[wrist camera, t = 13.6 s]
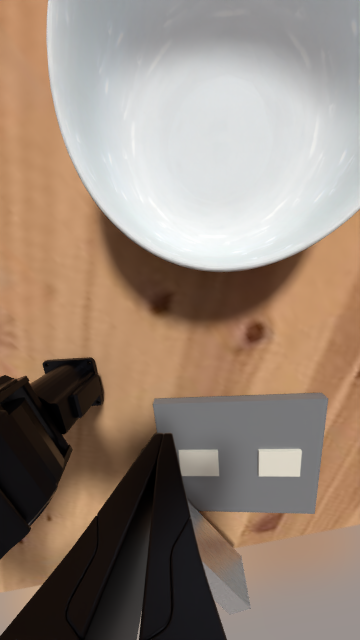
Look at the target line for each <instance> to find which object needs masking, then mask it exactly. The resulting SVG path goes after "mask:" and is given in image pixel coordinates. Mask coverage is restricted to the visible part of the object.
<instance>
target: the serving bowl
mask: <svg viewBox="0 0 360 640" xmlns="http://www.w3.org/2000/svg"><path fill="white" fill-rule="evenodd" d="M47 54H48V70H49V78H50V86H51V92H52V97H53V102H54V107H55V112H56V116H57V120H58V123H59V127H60V131H61V133H62V136H63V139H64V142H65V145H66V148H67V151H68V153H69V155H70V158H71V160H72V162H73V165H74V167H75V169H76V171H77V173H78V175H79V177H80V179H81V181H82V182H83V184H84V186H85V188H86V189H87V191H88V192H89V194H90V196H91V197H92V199H93V200H94V201H95V203H96V204H97V206H98V207H99V208H100V209H101V211H102V212H103V213H104V214H105V215H106V216H107V218H108V219H109V220H110V221H111V222H112V223H113V224H114V225H115V226H116V227H117V228H118V229H119V230H120V231H121V232H122V233H123V234H125V235H126V236H127V237H128V238H129V239H131V240H132V241H133V242H134V243H136V244H137V245H139V246H140V247H142V248H143V249H145V250H146V251H148V252H150V253H152V254H153V255H155V256H157V257H159V258H161V259H163V260H166V261H168V262H171V263H173V264H176V265H179V266H182V267H186V268H190V269H195V270H201V271H210V272H233V271H243V270H249V269H254V268H258V267H262V266H266V265H269V264H272V263H276V262H278V261H281V260H283V259H286V258H288V257H291V256H293V255H295V254H297V253H299V252H301V251H303V250H305V249H307V248H308V247H310V246H312V245H314V244H315V243H317V242H319V241H320V240H322V239H323V238H325V237H326V236H327V235H329V234H330V233H332V232H333V231H334V230H336V229H337V228H338V227H340V226H341V225H342V224H343V223H345V222H346V221H347V220H348V219H350V218H351V217H352V216H353V215H354V214H355V213H356V212H357V211H358V210H359V209H360V0H48V11H47Z"/></svg>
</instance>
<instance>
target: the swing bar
mask: <svg viewBox="0 0 360 640" xmlns="http://www.w3.org/2000/svg"><path fill="white" fill-rule="evenodd" d="M132 465H133V464H132ZM187 501H188V500H187ZM188 506H189V510H190V515H191V519H192V523H193V528H194V532H195V536H196V540H197V544H198V548H199V552H200V556H201V559H202V563H203V566H204V569H205V573H206V576H207V579H208V583H209V586H210V589H211V592H212V595H213V598H214V600H215V601H216V602H217V603H218V604H219V605H220V606H221V607H222V608H223V609H224V610H225V611H226V612H228V613H229V614H234V613H237V612H241V611H244V610H247V609H250V602H249V596H248V591H247V585H246V580H245V575H244V569H243V563H242V557H241V556H240V554H239V553H237V551H236V550H235V549H234V548H233V547H232V546H231V545H230V544H229V543H228V542H227V541H226V540H225V539H224V538H223V537H222V536H221V535H220V534H219V533H218V532H217V530H216V529H215V528H214V527H213V526H212V525H211V524H210V523H209V522H208V521H207V520H206V519H205V518H204V517H203V516H202V515H201V514H200V513H199V512H198V511H197V510H196V509H195V508H194V507H193V505H192V504H191V503H190V502H189V501H188Z"/></svg>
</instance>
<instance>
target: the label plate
mask: <svg viewBox="0 0 360 640" xmlns="http://www.w3.org/2000/svg"><path fill="white" fill-rule="evenodd" d="M327 404H328V398H327V397H326V396H325V395H323V394H322V393H301V394H273V395H245V396H216V397H188V398H159V399H154V402H153V408H154V415H155V421H156V428H157V433H163V434H164V433H172V434H173V438H174V443H175V447H176V452H177V456H178V461H179V465H180V470H181V474H182V479H183V483H184V488H185V492H186V497H187V500H188V501H189V502H190V503H191V504H192V505H193V507H194V508H195V509H196V510H197V511H223V512H265V513H308V514H315V506H316V497H317V489H318V480H319V472H320V464H321V455H322V447H323V438H324V430H325V421H326V413H327ZM142 451H143V449H142V450H141V452H142ZM140 454H141V453H140Z"/></svg>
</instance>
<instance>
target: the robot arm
mask: <svg viewBox="0 0 360 640" xmlns="http://www.w3.org/2000/svg"><path fill="white" fill-rule="evenodd" d="M89 361H90V362H91V363H89ZM43 368H44V371H45V375H43V376H42V377H40V378H39V379H37V380H36V381H34V382H33V383H31V384H30V383H29V382H28V381H29V379H28V378H27V376H24V377H21V378H18V379H14V378H11V377H9V376H6V375H4V376H1V377H0V559H1V558H2V557H3V556H4V555H5V554H6V553H7V552H8V551H9V550H10V549H11V548H12V547H14V546H15V545H16V544H17V543H18V542H19V541H21V540H22V539H23V538H24V537H25V536H26V535H27V534H28V533H29V531H30V529H31V527H30V525H32V524H33V522H34V521H35V520H36V519H37V518H38V517H39V516H40V514H41V513H42V512H43V511H44V509H45V508H46V507H47V505H48V503H49V502H50V500H51V499H52V497H53V495H54V493H55V492H56V489H57V487H58V483H59V481H60V478H61V476H62V474H63V471H64V469H65V466H66V464H67V462H68V459H69V457H70V455H71V452H72V450H73V449H72V447H71V446H70V445H68V443H67V442H66V440H65V439H64V437H63V436H62V434H66V433H67V432H68V430H69V429H70V428H71V427H72V425H73V424H74V423H75V422H76V421H77V419H78V418H81V417H82V416H83V415H84V414H85V413H86V411H87V410H88V409H89V408H90V406H98V405H101V404H102V402H103V397H102V390H101V386H100V381H99V377H98V374H97V370H96V366H95V361H94V359H93V358H73V359H56V360H46V361H45V362H43ZM141 611H142V615H141ZM140 617H141V625H140V626H141V627H140V635H139V640H227V639H226V635H225V632H224V629H223V626H222V623H221V620H220V617H219V614H218V611H217V607H216V604H215V601H214V598H213V595H212V592H211V589H210V586H209V583H208V579H207V576H206V573H205V569H204V566H203V563H202V559H201V556H200V552H199V548H198V544H197V540H196V536H195V532H194V528H193V523H192V519H191V515H190V510H189V506H188V501H187V497H186V492H185V488H184V483H183V479H182V474H181V470H180V465H179V461H178V456H177V452H176V447H175V443H174V438H173V434H172V433H164V434H163V433H155V434H154V435H153V437H152V438H151V440H150V441H149V442H148V444H147V445H146V447H145V448H144V449H143V451H142V452H141V454H140V455H139V456H138V458H137V459H136V461H135V462H134V463H133V465H132V466H131V468H130V469H129V470H128V472H127V473H126V475H125V476H124V477H123V479H122V480H121V481H120V483H119V484H118V486H117V487H116V488H115V490H114V491H113V493H112V494H111V495H110V497H109V498H108V500H107V501H106V502H105V504H104V505H103V507H102V508H101V509H100V511H99V512H98V514H97V516H95V518H94V519H93V520H92V522H91V523H90V525H89V526H88V527H87V529H86V530H85V531H84V533H83V534H82V535H81V537H80V538H79V539H78V541H77V542H76V543H75V545H74V546H73V547H72V549H71V550H70V551H69V553H68V554H67V555H66V556H65V558H64V559H63V560H62V561H61V563H60V564H59V565H58V566H57V568H56V569H55V570H54V571H53V573H52V574H51V575H50V576H49V577H48V579H47V580H46V581H45V582H44V583H43V585H42V586H41V587H40V589H39V590H38V591H37V592H36V593H35V594H34V596H33V597H32V598H31V599H30V601H29V602H28V603H27V604H26V605H25V607H24V608H23V609H22V610H21V611H20V613H19V614H18V615H17V617H16V618H15V619H14V620H13V621H12V623H11V624H10V625H9V626H8V627H7V629H6V630H5V631H4V632H3V633H2V635H1V636H0V640H136V639H137V634H138V628H139V623H140Z"/></svg>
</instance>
